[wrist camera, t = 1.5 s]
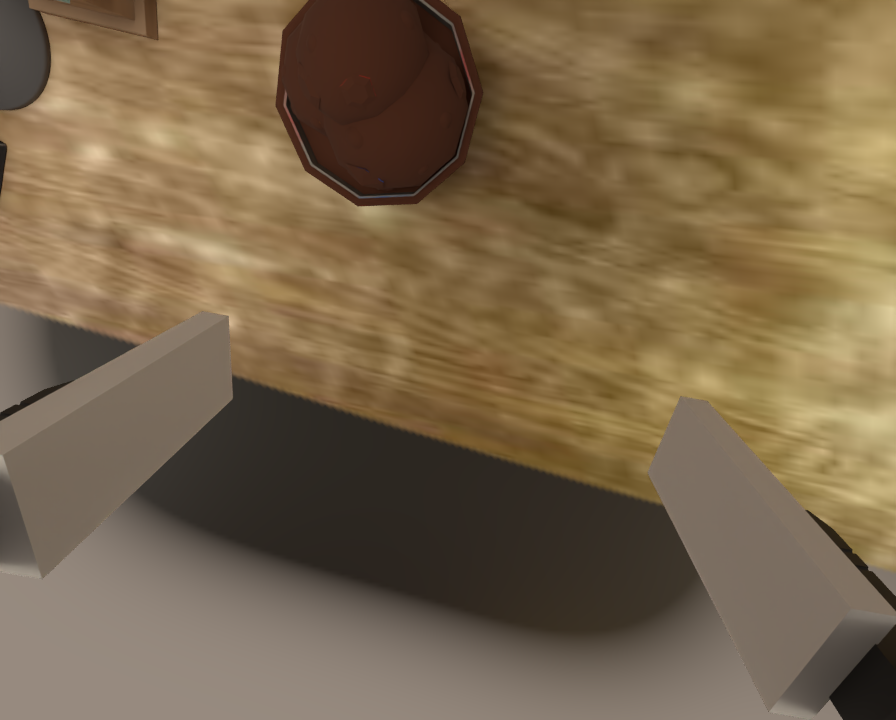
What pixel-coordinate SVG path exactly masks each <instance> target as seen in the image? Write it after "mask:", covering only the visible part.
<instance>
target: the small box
mask: <svg viewBox="0 0 896 720" xmlns="http://www.w3.org/2000/svg"><path fill="white" fill-rule="evenodd" d="M5 155H6V145H5V144H4V143H2V142H1V141H0V192H1V185H2V177H3V170H4V162H5Z"/></svg>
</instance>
